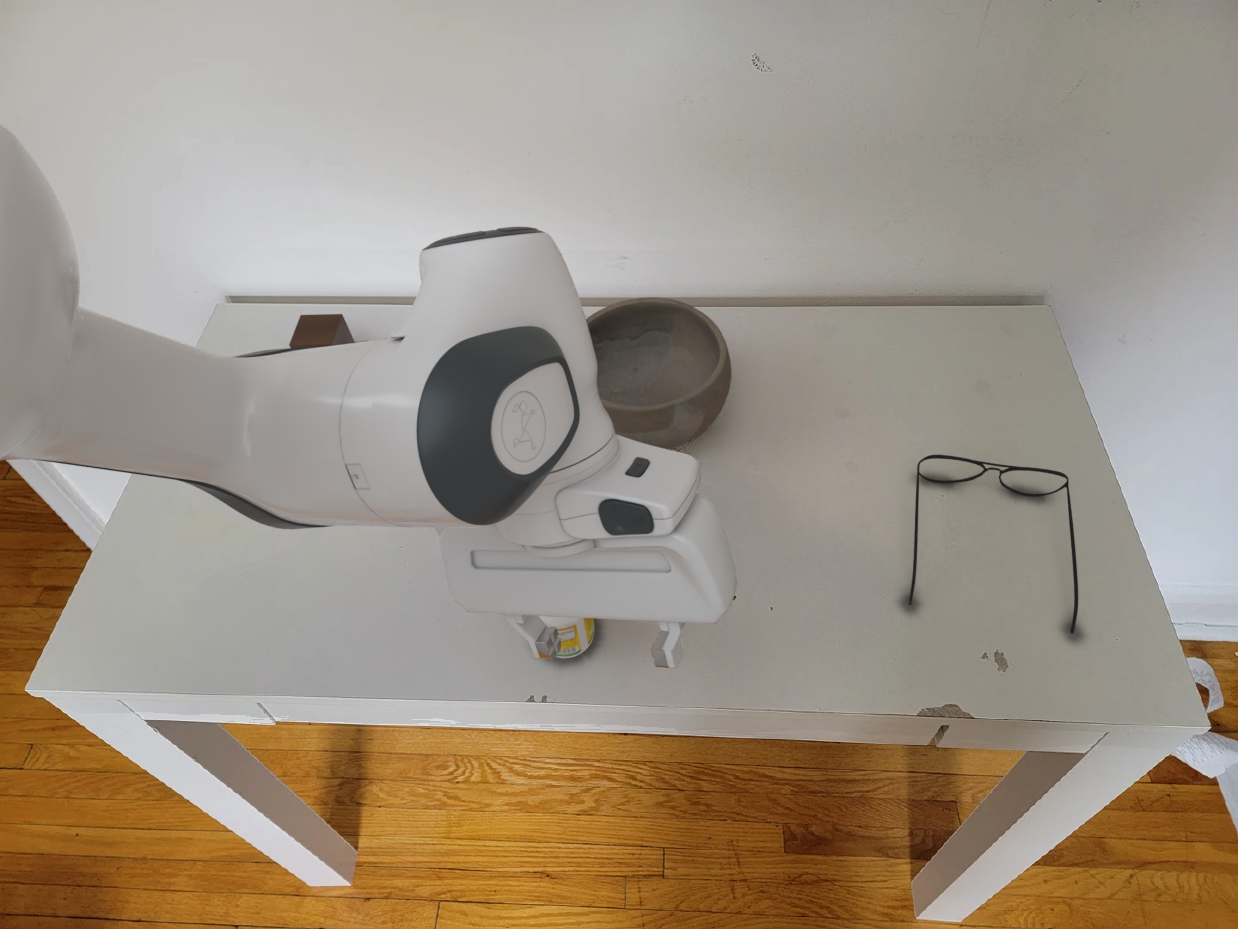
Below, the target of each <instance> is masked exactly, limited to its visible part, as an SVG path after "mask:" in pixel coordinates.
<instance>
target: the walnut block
mask: <svg viewBox="0 0 1238 929" xmlns="http://www.w3.org/2000/svg"><path fill="white" fill-rule="evenodd" d="M289 341H290V342H289V344H288V346H289V348H302V347H304V348H318V347H326V346H334V345H342V344H350V343H356V341H355V340H354V337H353V335H352V333H351V330H350V328H349V326H348V323H347V321H346V319H345V317H344V315H343V313H328V314H327V313H325V314H324V313H323V314H322V313H320V314H319V313H318V314H300V315H299V318H298V320H297V324H296V326H295V327H294V331H293V334H292V336H291V338H290V340H289Z"/></svg>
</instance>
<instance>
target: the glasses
mask: <svg viewBox="0 0 1238 929" xmlns="http://www.w3.org/2000/svg"><path fill="white" fill-rule="evenodd" d="M935 459H937V460H940V459H941V460H954V461H961V462H964V463H965V462H966V463H969V464H974V465H977V466H978V467H980V468H982V469H983V470H982V471H980V472H979V473H977V474H975V475H972V476H969V477H965V478H960V479H953V480H950V479H949V480H941V479H933V478H930V477H926V476H925V475H923V474H922V473H921V472H920V467H921V464H922V463H923V462H924V461H928V460H935ZM985 465H987V466H989V467H987V468H986V466H985ZM991 466H993V467H991ZM1000 468H1005V469H1000ZM916 470H917V471H916V484H915V485H916V486H915V506H914V508H915V510H914V536H913V537H914V538H913V539H914V540H913V561H912V562H913V563H912V564H913V565H912V575H911V576H912V577H911V584H910V592H909V593H910V594H909V600H908V606H912V603H913V598H914V592H915V586H916V578H917V566H918V541H919V539H918V538H919V537H918V536H919V501H920V500H919V499H920V498H919V497H920V477H921V478H922V479H924V480H927V481H929V482H932V483H936V484H959V483H967V482H970V481H973V480H974V481H975V480H976V479H978V478H980V477H982V476H983V475H985V473H986V472H988V471H997V472H999V474H998V480H999V483H1000V485H1001V486H1002V487H1003V488H1005V489H1006V490H1009V491H1010V492H1011V493H1014V494H1017V495H1020V496H1026V497H1044V496H1049V495H1053V494H1055V493H1058V492H1059V491H1061V490H1063V489H1064V488H1066V495H1067V496H1066V498H1067V499H1066V500H1067V512H1068V526H1069V536H1070V537H1069V538H1070V548H1071V561H1072V576H1073V592H1074V593H1073V612H1072V619H1071V620H1072V621H1071V629H1070V633H1071V634H1074V633H1075V628H1076V623H1077V618H1078V611H1079V581H1078V580H1079V579H1078V565H1077V564H1078V563H1077V552H1076V551H1077V550H1076V541H1075V529H1074V520H1073V510H1072V509H1073V508H1072V503H1071V502H1072V501H1071V494H1070V486H1069V483H1070V482H1069V476H1067V474H1065V473H1064V472H1062V471H1058V470H1052V469H1047V468H1041V467H1031V466H1030V467H1029V466H1016V465H1008V464H1000V463H995V462H987V461H983V460H975V459H971V458H968V457H967V458H966V457H963V456H962V457H961V456H954V455H949V454H948V455H947V454H930V455H927V456H924V457H923V458H922V459H920V460H919V461H918V463H917V467H916ZM1014 471H1016V472H1017V471H1021V472H1022V471H1023V472H1027V471H1028V472H1039V473H1043V474H1050V475H1054V476H1058V477H1060V478H1064V479H1066V481H1065V483H1064V484H1062V485H1061V486H1060V487H1059V488H1057V489H1056V490H1053V491H1050V492H1044V493H1028V492H1023V491H1019V490H1017V489H1014V488H1012V487H1010V486H1008V484H1007V485H1006V484H1005V483H1004V482H1003V479H1002V475H1003V474H1005V473H1008V472H1014Z"/></svg>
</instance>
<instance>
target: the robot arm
mask: <svg viewBox="0 0 1238 929" xmlns="http://www.w3.org/2000/svg"><path fill="white" fill-rule="evenodd" d="M418 268H419V276H420V285H419V290H418V292H417V295H416V297H415V299H414V302H413V303H412V305H411V307H410V309H409V311H408V312H407V314H406V316H405V317H404V318H403V320H401V322H400V324H399V325H398V326H397V327H396V328H395V329H394V330H393V331H392V332H391V333H389V338H384V339H383V338H382V339H375V340H368V341H360V342H355V343H350V344H342V345H334V346H326V347H318V348H304V347H302V348H290V347H288V348H275V349H265V350H259V351H254V352H249V353H245V354H240V355H236V356H226V355H220V354H218V353H217V354H216V353H212V352H210V351H207V350H204V349H202V348H199V347H195V346H193V345H190V344H187V343H184V342H182V341H178V340H176V339H173V338H169V337H167V336H164V335H161V334H158V333H156V332H152V331H150V330H147V329H144V328H141V327H138V326H135V325H133V324H129V323H126V322H123V321H121V320H117V319H115V318H112V317H109V316H106V315H103V314H100V313H98V312H95V311H93V310H90V309H87V308H85V307H82V306H81V305H80V289H81V288H80V287H81V283H80V282H81V280H80V266H79V259H78V253H77V248H76V244H75V241H74V237H73V233H72V230H71V226H70V224H69V222H68V220H67V217H66V215H65V212H64V209H63V207H62V204H61V203H60V201H59V199H58V197H57V195H56V193H55V191H54V189H53V187H52V186H51V184H50V182H49V180H48V179H47V178H46V176H45V174H44V173H43V171H42V170H41V168H40V166H39V165H38V164H37V162H36V161H35V159H34V158H33V157H32V155H31V154H30V152H28V150H27V149H26V147H25V146H24V144H22V142H21V141H20V140H19V139H18V137H17V136H16V135H15V134H14V133H13V132H12V131H10V130H9V129H8V128H7V127H5V126H4V125H2V124H1V123H0V461H13V460H31V461H39V462H47V463H55V464H63V465H68V466H69V465H70V466H77V467H82V468H83V467H84V468H91V469H98V470H105V471H110V472H119V473H124V474H125V473H126V474H132V475H138V476H139V475H141V476H147V477H154V478H161V479H167V480H173V481H179V482H182V483H185V484H188V485H190V486H192V487H195V488H197V489H200V490H201V491H203V492H205V493H207V494H209V495H210V496H212V497H214V498H215V499H217V500H219V501H220V502H221V503H223V504H225V505H226V506H228V507H230V508H231V509H233V510H234V511H236V512H238V513H239V514H241V515H243V516H244V517H246V518H248V519H250V520H252V521H254V522H256V523H258V524H261V525H264V526H266V527H271V528H274V529H281V530H302V529H315V528H316V529H318V528H319V529H320V528H329V527H337V526H339V527H388V528H389V527H390V528H391V527H392V528H393V527H394V528H435V530H436V532H437V534H438V536H439V548H440V553H441V560H442V564H443V570H444V572H445V576H446V580H447V584H448V588H449V590H450V594H451V596H452V599H453V601H454V602H455V603H456V604H457V605H458V606H459V607H461V608H462V609H463V610H464V611H465V612H468V613H471V614H487V615H488V614H489V615H490V614H491V615H495V614H496V615H504V617H505V619H506V623H507V625H509V626H510V627H511V628H512V629H514V631H515V632H516V633H517V634H518V635H519V636H520V637H521V638H523V639H524V640H525V641H526V642H528V645H529V648H530V650H531V653H532V655H533V658H534V659H539V660H540V659H542V660H555V659H556V658H557V657H556V653H558V652H559V651H560V649H561V640H560V638H559V637H558V631H557V628H556V627H549V626H546V624H545V623H544V622H543V621H542V620H541V618H540V617H539V616H553V617H574V618H593V619H596V620H597V619H598V620H620V621H622V620H623V621H638V622H639V621H641V622H657V623H658V625H659V629H660V631H661V632H658V633H657V635H656V637H655V642H653V643H652V646H651V648H650V652H651V656H652V658H653V659H654V662H653V664H654V666H655V667H656V668H666V669H675V670H676V669H678V668H679V665H680V663H681V661H682V659H683V646H682V642H681V638H680V635H681V633H682V632H683V628H684V627H685V625H686V624H704V625H715V624H718V623H719V622H720V621H721V620H722V619H723V618H724V617H725V615H726V614H727V613H728V611H729V610H730V608H731V606H732V603H733V601H734V598H735V595H736V591H737V585H738V578H737V572H736V567H735V562H734V558H733V554H732V550H731V547H730V544H729V540H728V537H727V534H726V532H725V528H724V525H723V523H722V521H721V518H720V516H719V513H718V512H717V510H716V508H715V507H714V505H712V503H711V502H710V501H709V500H708V499H707V498H706V497H704V496H703V495H701V494H700V493H697V492H698V489H699V486H700V483H701V476H702V474H701V468H700V464H699V462H698V460H697V459H696V458H695V457H694V456H692V455H690V454H687V453H684V452H680V451H676V450H673V449H664V448H660V447H656V446H652V445H648V444H645V443H641V442H638V441H635V440H631V439H629V438H626V437H623V436H620V435H616V434H615V430H614V426H613V423H612V420H611V418H610V416H609V414H608V413H607V411H606V410H605V408H604V406H603V404H602V402H601V400H600V397H599V393H598V388H597V371H598V366H597V359H596V355H595V351H594V347H593V343H592V339H591V335H590V332H589V328H588V325H587V321H586V319H587V317H586V314H585V312H584V309H583V305H582V303H581V299H580V297H579V296H580V295H579V293H578V291H577V288H576V285H575V282H574V280H573V277H572V274H571V272H570V270H569V268H568V265H567V262H566V261H565V258H564V256H563V254H562V253H561V251H560V249H559V247H558V245H557V243H556V242H555V240H554V238H553V237H552V236H551V235H550V234H549V233H548V232H545V231H543V230H540V229H538V228H537V227H531V226H507V227H506V226H505V227H499V228H496V229H490V230H478V231H473V232H472V231H471V232H466V233H461V234H456V235H451V236H448V237H443V238H440V239H438V240H435V241H433V242H431V243H429V245H427V246H426V247H424V248H422V250H421V251H420V252H419V253H418Z"/></svg>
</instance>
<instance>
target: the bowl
mask: <svg viewBox="0 0 1238 929" xmlns="http://www.w3.org/2000/svg"><path fill="white" fill-rule="evenodd" d="M586 321H587V325H588V328H589V332H590V335H591V339H592V343H593V347H594V351H595V355H596V359H597V366H598V371H597V388H598V393H599V397H600V400H601V402H602V404H603V406H604V408H605V410H606V411H607V413H608V414H609V416H610V418H611V420H612V423H613V426H614V430H615V434H616V435H620V436H623V437H626V438H629V439H631V440H635V441H638V442H641V443H645V444H648V445H652V446H656V447H660V448H664V449H668V450H673V449H675V448H678V447H682V446H683V445H685V444H687V443H690V442H691V441H693V440H695V439H697V438H698V437H700V436H701V435H703V433H704V432H706V431H707V430H708V429H709V427H711V426H712V425H713V424H714V422H715V421H716V419H718V417H719V415H720V414H721V411H723V408H724V406H725V404H726V401H727V398H728V395H729V393H730V389H731V384H732V364H731V357H730V352H729V348H728V346H727V342H726V339H725V337H724V335H723V333H722V331H721V329H720V328H719V327H718V325H717V324H716V323H715V322H714V320H713V319H711V317H709V315H706V314H705V313H704V312H703V311H701V310H700V309H698V308H696V307H694V306H693V305H690V304H688V303H685V302H683V301H680V300H676V299H673V298H668V297H657V296H656V297H655V296H654V297H653V296H652V297H651V296H648V297H640V298H632V299H625V300H622V301H619V302H615V303H612V304H609V305H607V306H605V307H602V308H601V309H599V310H597V311H595V312H594V313H592V314H591V315H589V316H588V317H586Z"/></svg>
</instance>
